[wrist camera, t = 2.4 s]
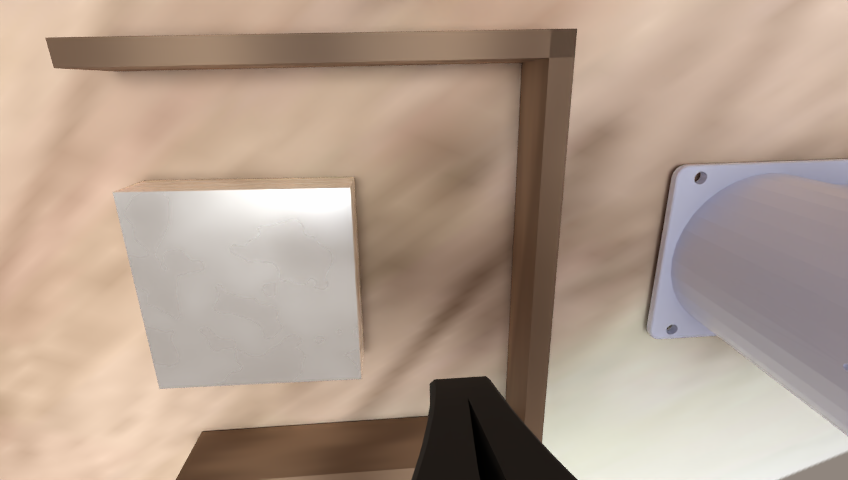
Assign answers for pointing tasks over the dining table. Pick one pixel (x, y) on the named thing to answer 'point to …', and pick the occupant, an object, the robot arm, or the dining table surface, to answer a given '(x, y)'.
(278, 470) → the brown u-shaped frame
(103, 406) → the dining table surface
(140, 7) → the dining table surface
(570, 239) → the dining table surface
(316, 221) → the cover plate
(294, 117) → the dining table surface
